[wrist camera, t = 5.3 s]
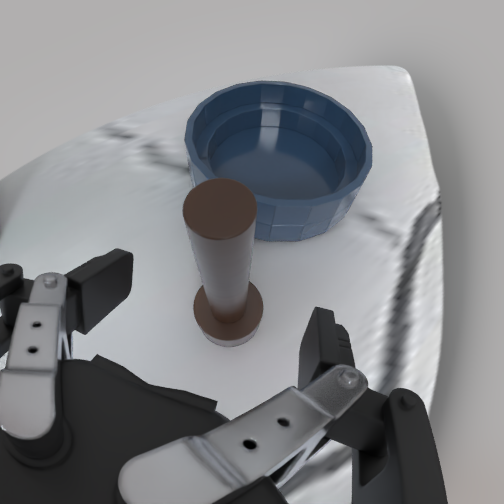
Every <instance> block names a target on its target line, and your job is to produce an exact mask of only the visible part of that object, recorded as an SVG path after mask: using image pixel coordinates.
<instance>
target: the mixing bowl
mask: <svg viewBox="0 0 504 504" xmlns="http://www.w3.org/2000/svg"><path fill="white" fill-rule="evenodd" d="M184 140H185V147H186V153H187V159H188V165H189V171H190V176H191V181H192V184H193V187H195V186H197V185H198V184H200V183H202V182H204V181H206V180H209V179H214V178H229V179H233V180H236V181H238V182H241V183H242V184H244V185H245V186H247V187H248V188H249V189H250V190H251V192H252V193H253V195H254V196H255V199H256V201H257V208H258V209H257V218H256V227H255V235H254V238H257V239H261V240H264V241H301V240H304V239H307V238H310V237H313V236H316V235H319V234H322V233H324V232H326V231H327V230H329V229H330V228H331V227H333V226H334V225H335V224H336V223H338V222H339V221H340V220H342V219H343V218H344V216H345V215H346V213H347V211H348V209H349V208H350V206H351V204H352V202H353V200H354V199H355V197H356V195H357V193H358V191H359V190H360V188H361V186H362V184H363V182H364V180H365V178H366V177H367V175H368V173H369V171H370V169H371V167H372V144H371V142H370V139H369V137H368V135H367V132H366V130H365V128H364V126H363V125H362V124H361V123H360V121H359V120H358V119H357V118H356V117H355V116H354V114H353V113H352V112H351V111H350V110H349V109H347V108H346V107H345V106H343V105H342V104H340V103H339V102H337V101H336V100H335V99H333V98H332V97H330V96H328V95H325V94H323V93H321V92H319V91H316V90H314V89H312V88H309V87H306V86H301V85H297V84H293V83H288V82H280V81H254V82H247V83H241V84H236V85H233V86H230V87H228V88H225V89H223V90H220V91H217V92H215V93H214V94H212V95H211V96H210V97H208V98H207V99H205V100H204V101H203V102H201V103H200V104H199V105H198V106H197V107H196V109H195V110H194V112H193V113H192V115H191V116H190V118H189V119H188V121H187V127H186V133H185V139H184Z"/></svg>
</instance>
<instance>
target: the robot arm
mask: <svg viewBox="0 0 504 504" xmlns="http://www.w3.org/2000/svg"><path fill="white" fill-rule="evenodd" d="M132 273H133V254H132V253H131V252H127V251H124V250H121V249H118V248H116V249H114V250H112V251H110V252H109V253H107V254H105V255H103V256H99V257H94V258H93V259H91V260H89V261H87V263H84V264H82V265H81V266H79V267H77V268H75V269H74V270H72V271H70V272H68V273H67V274H65V275H62V274H59V273H53V272H52V273H44V274H41V275H39V276H38V277H36V279H35V280H30V279H25V278H23V269H22V267H21V266H19V265H17V264H4V265H1V266H0V309H1V313H2V316H1V317H0V358H1V357H2V356H3V355H4V354H5V353H6V352H7V351H9V352H8V357H7V362H6V366H5V368H4V369H2V370H1V371H0V504H288V503H287V501H286V500H285V498H284V497H283V495H282V494H281V492H280V491H279V489H278V488H279V487H281V486H282V485H283V484H284V483H285V482H287V481H288V480H289V479H290V478H291V477H292V476H293V475H294V474H295V473H296V472H297V471H298V470H299V469H300V468H301V467H302V466H303V465H305V464H306V463H307V462H308V461H309V460H310V459H311V458H313V457H314V456H315V455H316V454H317V453H318V452H319V451H320V450H321V449H322V448H324V447H325V446H326V445H327V444H328V443H329V442H330V441H331V440H335V441H337V442H339V443H342V444H344V445H347V446H349V447H352V504H448V502H447V496H446V491H445V485H444V480H443V475H442V470H441V466H440V461H439V457H438V453H437V449H436V445H435V441H434V437H433V433H432V429H431V426H430V422H429V419H428V415H427V412H426V408H425V405H424V402H423V401H422V399H421V398H420V397H419V396H418V395H417V394H416V393H414V392H413V391H411V390H408V389H404V388H397V389H394V390H393V391H392V392H391V393H390V395H389V396H386V395H383V394H380V393H378V392H376V391H373V390H371V389H369V388H368V381H367V378H366V377H365V375H364V374H363V373H362V372H360V371H359V370H358V369H356V368H355V363H354V358H353V353H352V349H351V343H350V339H349V334H348V332H347V331H346V330H345V328H344V327H343V326H342V325H340V324H335V318H334V312H333V311H332V310H328V309H324V308H320V307H315V308H314V310H313V312H312V315H311V318H310V320H309V323H308V326H307V328H306V331H305V333H304V336H303V339H302V342H301V346H300V352H299V373H298V389H297V388H296V387H295V386H291V387H288V388H287V389H285V390H283V391H282V392H280V393H279V394H277V395H275V396H274V397H272V398H270V399H269V400H267V401H265V402H263V403H262V404H260V405H258V406H256V407H255V408H253V409H251V410H249V411H248V412H246V413H244V414H242V415H240V416H238V417H237V418H235V419H233V420H231V421H230V420H229V419H228V418H226V417H225V416H223V415H222V414H220V413H219V412H217V411H215V409H216V405H217V402H218V401H215V400H212V399H209V398H205V397H202V396H199V395H196V394H193V393H190V392H187V391H184V390H177V389H171V388H165V387H160V386H154V385H150V384H148V383H146V382H145V381H143V380H142V379H140V378H139V377H137V376H136V375H135V374H133V373H132V372H130V371H129V370H127V369H126V368H125V367H123V366H121V365H119V364H117V363H115V362H112V361H110V360H108V359H106V358H104V357H102V356H100V355H98V354H97V355H96V356H95V357H94V358H93V359H92V360H91V361H87V360H80V359H73V336H72V332H73V331H74V330H76V331H78V332H80V333H82V334H84V335H86V334H87V333H88V332H89V331H90V330H91V329H92V328H93V327H95V326H96V325H97V324H98V323H99V322H100V321H101V320H102V319H103V318H104V317H106V316H107V315H108V314H109V313H110V312H111V311H112V310H113V309H115V308H116V307H117V306H118V305H119V304H120V303H121V302H122V301H124V300H125V299H126V298H127V297H128V295H129V293H130V291H131V287H132Z"/></svg>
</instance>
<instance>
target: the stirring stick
mask: <svg viewBox="0 0 504 504" xmlns="http://www.w3.org/2000/svg"><path fill="white" fill-rule="evenodd" d="M257 209H258V208H257V201H256V199H255V196H254V195H253V193H252V192H251V190H250V189H249V188H248V187H247V186H245V185H244V184H242V183H241V182H238V181H236V180H233V179H229V178H214V179H209V180H206V181H204V182H202V183H200V184H198V185H197V186H195V187H194V188H193V189H192V190H191V191H190V192H189V194H188V195H187V197H186V199H185V201H184V204H183V217H184V221H185V225H186V228H187V232H188V235H189V239H190V242H191V246H192V249H193V253H194V256H195V260H196V263H197V267H198V270H199V273H200V277H201V280H202V283H203V285H202V286H201V288H200V289H199V290H198V292H197V294H196V297H195V300H194V315H195V319H196V321H197V323H198V325H199V326H200V328H201V330H202V331H203V333H204V335H205V336H206V337H207V338H208V339H209V340H210V341H212V342H213V343H215V344H217V345H220V346H224V347H234V346H239V345H241V344H244V343H245V342H247V341H248V340H250V339H251V338H252V337H253V335H254V334H255V333H256V331H257V329H258V326H259V323H260V321H261V318H262V314H263V301H262V298H261V295H260V293H259V291H258V290H257V288H256V287H255V286H254V285H253V284H252V283H251V282H250V281H249V277H250V268H251V260H252V252H253V243H254V235H255V227H256V218H257Z"/></svg>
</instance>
